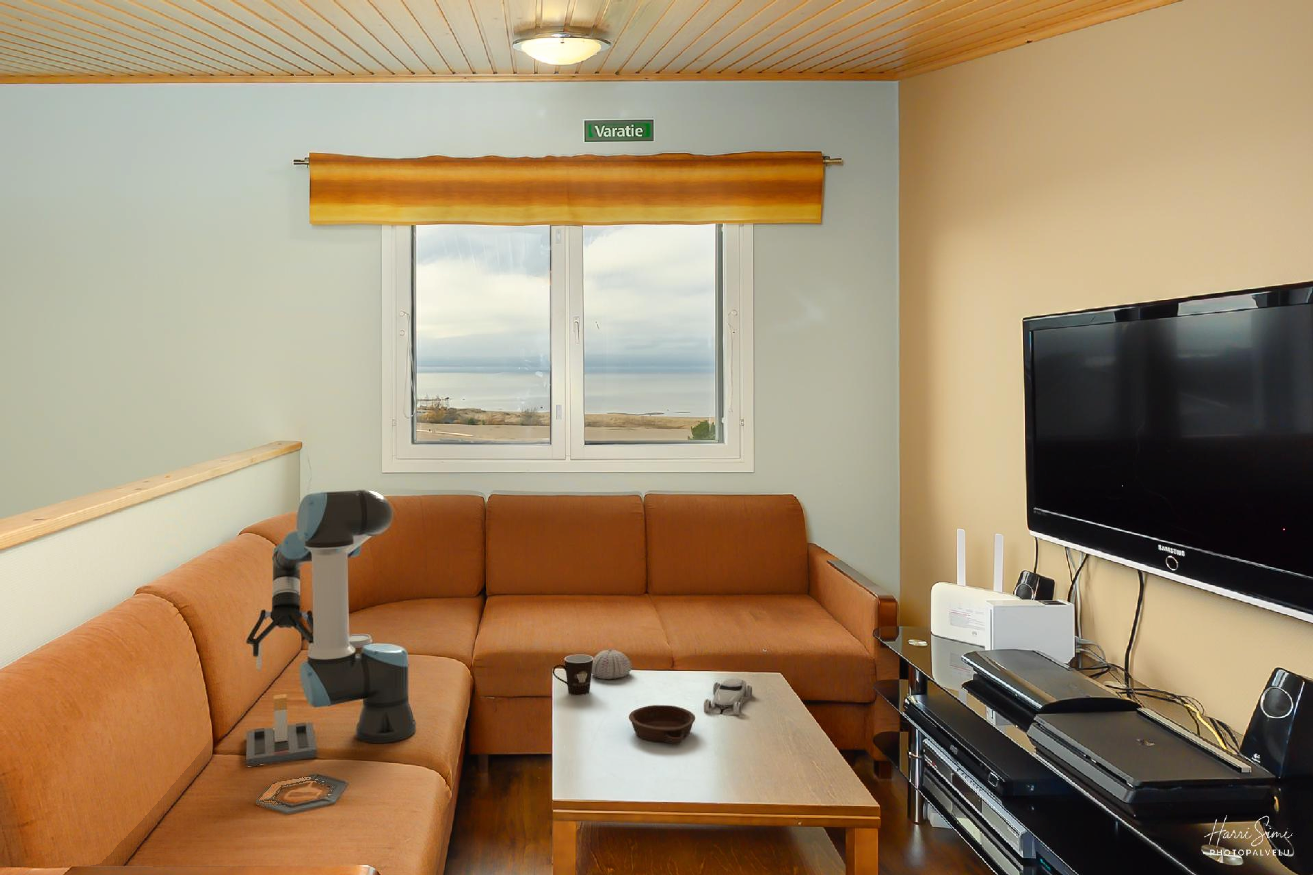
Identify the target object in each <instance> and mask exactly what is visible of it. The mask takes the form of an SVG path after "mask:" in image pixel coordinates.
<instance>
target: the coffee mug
mask: <svg viewBox="0 0 1313 875" xmlns="http://www.w3.org/2000/svg"><path fill="white" fill-rule="evenodd" d="M593 658H594V657H593V656H591V655H589V654H572V655H567V656H566V657H564V659H563V660H564V664H562V663H561V664H555V666H554V667H553V668H552V674H553V676H554V677H555V678H556V679H557V680H559V681H561V682H563V683H564V684H566V686H567V692H568V694H570V693H571V694H570V695H572V696H573V695H574V696H582V694H584V695H587V694H589V693H590V692H591V690H590V689H591V681H592V675H593V674H592V665H593ZM559 667H562V668H563V670H564V671H565V675H566V676H565V677H566V680H564V679H563V678H560V677H559V676H557V675H556V673H555V671H556V669H557V668H559ZM589 691H590V692H589ZM586 693H587V694H586Z"/></svg>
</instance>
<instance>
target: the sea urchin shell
mask: <svg viewBox="0 0 1313 875" xmlns="http://www.w3.org/2000/svg"><path fill="white" fill-rule="evenodd" d="M632 669H633V666H632V662H631V660H630V659H629V657H627V656H626V655H625V654H624V653H623V652H621V651H619V650H615V649H604V650H601V651H600V652H598V653H597V654H596V655H594V657H593V665H592V674H591V675H592V676H594V678H597V679H603V680H611V679H613V680H614V679H618V678H623V677H625V676H628V675H629V673H630V672H631V671H632Z"/></svg>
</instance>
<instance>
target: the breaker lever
mask: <svg viewBox="0 0 1313 875" xmlns="http://www.w3.org/2000/svg"><path fill="white" fill-rule="evenodd" d="M287 701H288V696H287V693H283V694H275V695H273V727H274V737H275V742H280V741H287V740H288V736H287V726H288V705H287V704H288V702H287Z"/></svg>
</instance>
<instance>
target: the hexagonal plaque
mask: <svg viewBox="0 0 1313 875" xmlns="http://www.w3.org/2000/svg"><path fill="white" fill-rule="evenodd" d="M302 777H303V778H304V777H311V779H310V780H305V781H300V782H296V783H291V784H286V785H281V787H280V788H279V789H278V790H277V791H276V793H275V794H274V795H273V796H272V797H271V798H269V799H264V800H260V801H259V799H260V798H261V797H262V796H263V794H264V793H265V792H266V791H267V790H268V789H269V788H270V787H271V785H272V784H275V783H277V782H281V781H287V780H292V779H299V778H302ZM304 779H305V778H304ZM307 779H309V778H307ZM315 779H318V780H315ZM306 781H316V782H317V783H316V784H318V783H320V784H319V785H321V784H324V785H323V786H325V785H327V786H326V787H328V786H330V787H329V789H328V791H327V792H326V793H325V795H324V796H323V797H319V798H320V799H312V800H308V801H303V802H299V803H294V804H292V803H289V802H286V801H282V800H276V799H277V798H276V799H275V798H274V799H273V797H274V796H275V795H276V794H277V793H278V791H279V790H280V789H281V788H282V787H283V786H287V785H288V786H289V785H293V784H299V783H303V782H306ZM322 781H324V782H322ZM347 785H349V781H346V780H343V779H339V778H336V777H332V776H329V775H325V774H322V773H318V772H316V773H312V774H307V775H302V776H298V777H293V778H289V779H283V780H279V781H273V782H271V784H269V785H268V787H267V788H266V789H265V790H264V791H263V793H261V795H260V796H259V797H258V798H257V799H256V800H255V803H257V804H259V805H263V806H264V807H263V808H265V807H268V808H269V809H268V808H267V809H268V810H271V809H273V810H272V811H274V810H275V812H277V811H278V813H281V812H283V813H282V814H284V813H285V815H290V814H291V813H292V814H296V813H300V811H301V812H304V810H305V811H309V810H313V809H319V808H322V807H326V806H331V805H332V806H333V805H335V804H336V803H337V802H338V800H339V799H338V798H340V797H341V796H342V794H343V793H344V791H345V790H346V788H347V787H348V786H347ZM282 789H283V788H282ZM331 790H332V791H331ZM342 792H343V793H342ZM278 794H279V793H278ZM278 794H277V795H278ZM328 794H331V795H329V796H328ZM340 795H341V796H340ZM326 797H328V798H326ZM269 800H270V801H271V800H272V801H276V802H277V803H278V804H275V803H276V802H275V803H274V804H273V803H272V802H270V803H272V804H269V802H264V801H269ZM260 802H264V804H263V803H260ZM255 803H254V804H255ZM265 803H268V804H265ZM279 803H281V804H279ZM281 805H282V806H281ZM284 805H285V806H284ZM308 809H309V810H308ZM295 812H296V813H295Z"/></svg>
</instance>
